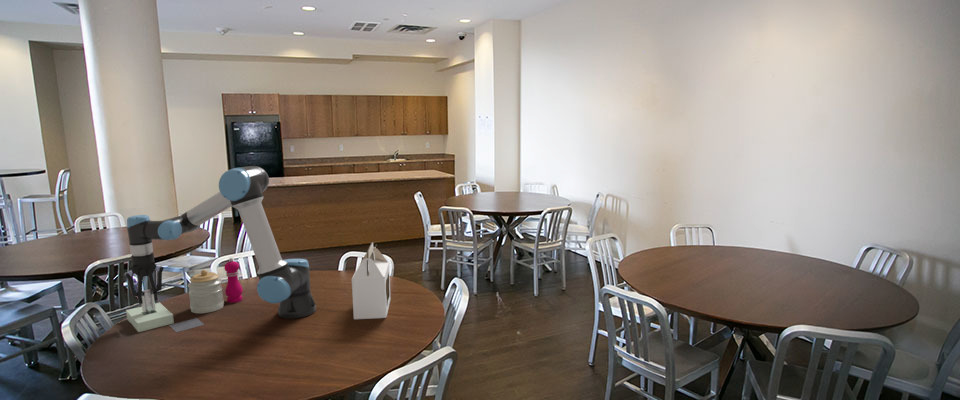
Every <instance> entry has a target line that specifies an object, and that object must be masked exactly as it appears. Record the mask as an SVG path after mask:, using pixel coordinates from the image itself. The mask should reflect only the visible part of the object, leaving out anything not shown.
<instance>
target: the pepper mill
mask: <svg viewBox="0 0 960 400" xmlns="http://www.w3.org/2000/svg"><path fill="white" fill-rule="evenodd" d="M223 269H224V271H225V274H226V275H225V276H226V277H227V283H226V287H225V290H224V294H225V295H226V302H227V303H229V304H230V303H231V304H234V303H238V302H241V301H242V300H243V295H242V294H243V292H244V290H243V286H242V285H241V283H240V281H239V277H238V275H239V274H240V273H239V269H240V264H239V262H238V261H234V258H233V257H230V258H228V261H227V262H226V263H225V264H224V268H223Z"/></svg>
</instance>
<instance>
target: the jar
mask: <svg viewBox="0 0 960 400" xmlns="http://www.w3.org/2000/svg"><path fill="white" fill-rule="evenodd" d="M222 282H223V279H221V278H220V274H218V273H216V272H213V271H208V270H207V269H201V271H200V273H197V274H194V275H193V276H192V277H190V278H189V283H188V284H187V287H188V288H189V291H188V295H189V304H190V305H189V307H190V311H191V313H193V314H207V313H212V312H215V311H219V310H221V309H222V308H224V304H225V300H224V294H223V289H224V288H223V285H222Z"/></svg>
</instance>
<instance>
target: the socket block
mask: <svg viewBox="0 0 960 400" xmlns="http://www.w3.org/2000/svg"><path fill="white" fill-rule="evenodd" d="M125 314H126V319H127V321H128V322H129V323H130V324H131V325H132V326H133V327H134V329H135V330H136V331H137V333H141V332H142V333H143V332H144V331H149V330H153V329H156V328H160V327H165V326H169V325H171V324H175V322H174V321H175V320H174V314H173V313H172V312H171V311H170V310H169V309H168V308H166V307H165V306H164V305H163V304H162V303H161V302H155V309H154V313H152V314H148V315H145V313H144V312H143V311H142V306H139V307H134V308H130V309H126V310H125Z"/></svg>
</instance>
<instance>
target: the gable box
mask: <svg viewBox="0 0 960 400" xmlns="http://www.w3.org/2000/svg"><path fill="white" fill-rule="evenodd" d="M377 246H378V245H377V243H376V244H375V246H374V242H371V243H370V245H369V247H368V248H367V251H366V253H365V255H364V256H363V258H362V259H361V261H360V263H359V264H358V265H357V268H356V270H355V271H354V273H353V276H352V277H351V289H352V290H351V292H352V295H351V296H352V311H353V312H352V314H353V320H367V319H370V320H372V319H386V318H388V317H387V316H388V313H389V307H390V303H391V278H390V277H391V276H390V262H389V261H388V260H387V259H386V258H385V257H384V255H383V254H382V252H381V251H380V250H379V249H378V248H376V247H377Z"/></svg>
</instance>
